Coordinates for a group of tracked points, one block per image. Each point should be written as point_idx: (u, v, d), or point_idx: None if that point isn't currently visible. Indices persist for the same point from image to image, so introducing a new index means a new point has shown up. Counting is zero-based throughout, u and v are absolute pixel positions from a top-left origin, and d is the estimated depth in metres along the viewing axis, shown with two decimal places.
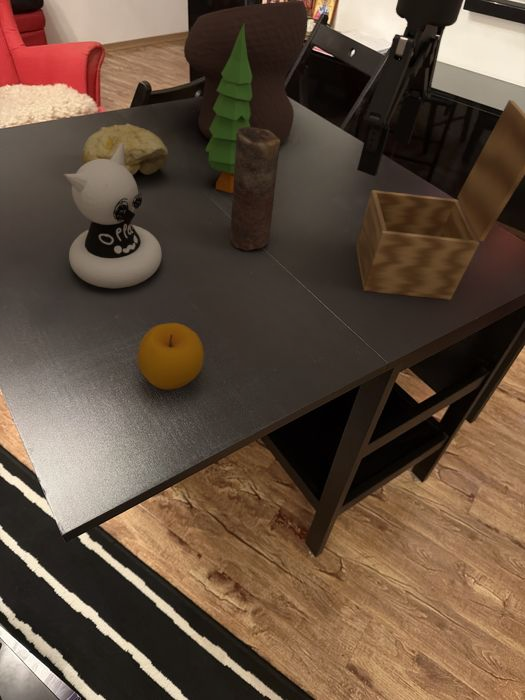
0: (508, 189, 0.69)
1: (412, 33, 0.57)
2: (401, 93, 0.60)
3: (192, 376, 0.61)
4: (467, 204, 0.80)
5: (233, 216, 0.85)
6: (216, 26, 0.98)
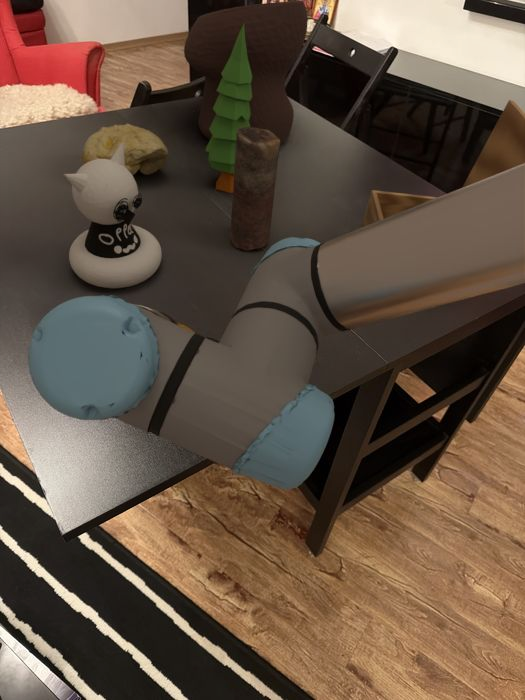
0: None
1: None
2: None
3: None
4: None
5: (233, 216, 0.85)
6: (216, 26, 0.98)
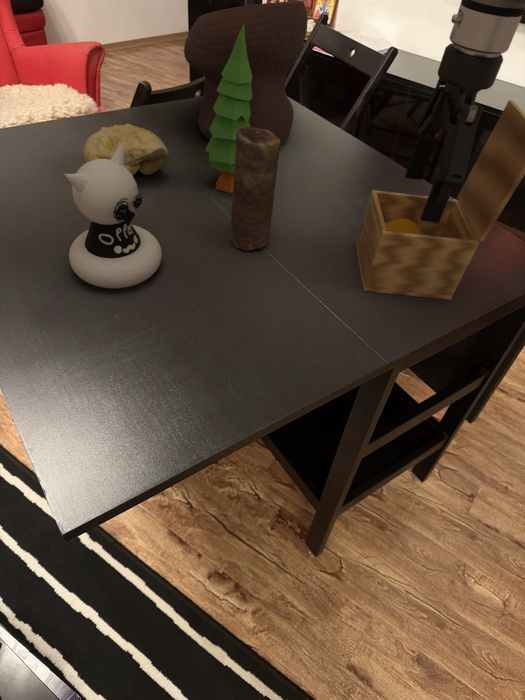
0: (508, 189, 0.69)
1: (468, 98, 0.63)
2: None
3: None
4: (467, 204, 0.80)
5: (233, 216, 0.85)
6: (216, 26, 0.98)
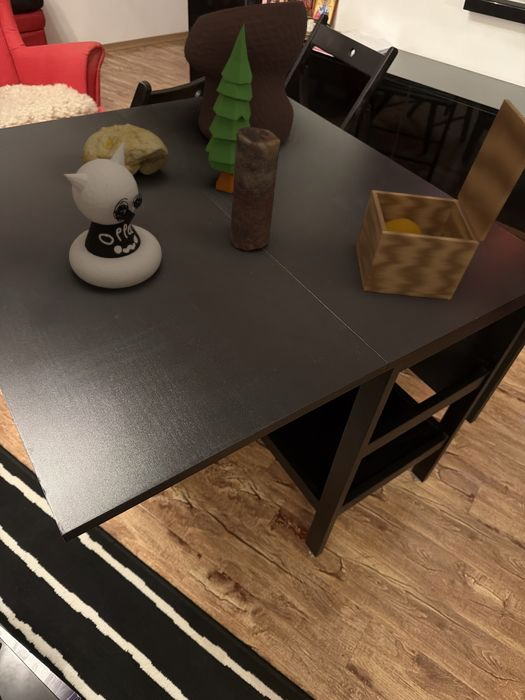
0: (506, 188, 0.69)
1: None
2: None
3: None
4: (467, 204, 0.80)
5: (233, 216, 0.85)
6: (216, 26, 0.98)
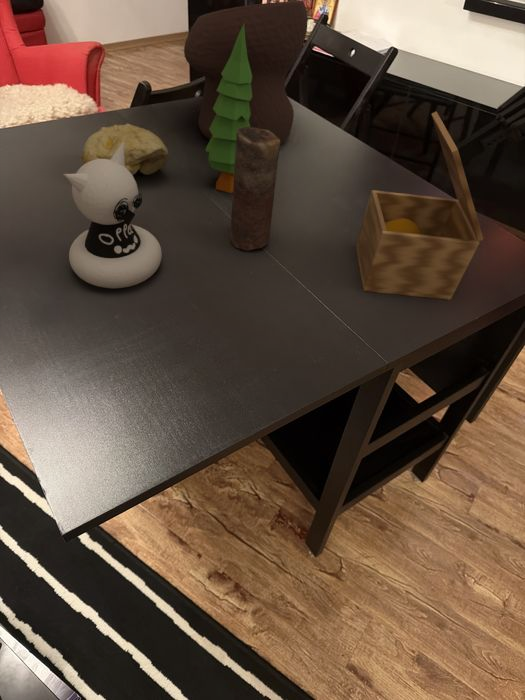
0: (464, 196, 0.70)
1: None
2: None
3: None
4: (462, 206, 0.81)
5: (233, 216, 0.85)
6: (216, 26, 0.98)
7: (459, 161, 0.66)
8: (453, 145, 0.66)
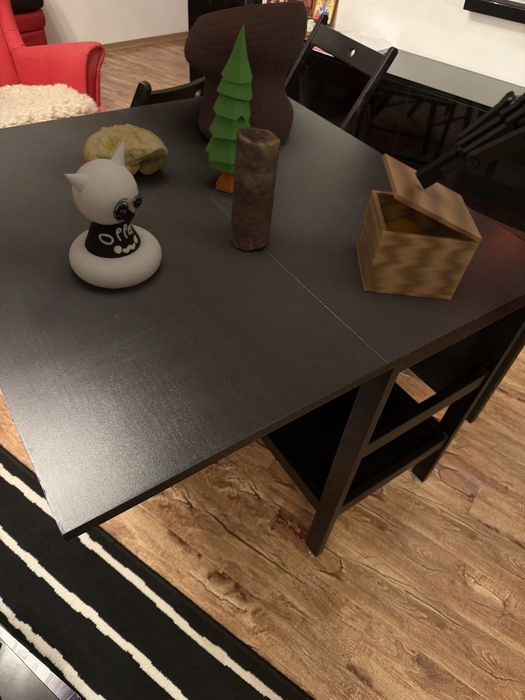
0: (435, 219, 0.73)
1: None
2: None
3: None
4: None
5: (233, 216, 0.85)
6: (216, 26, 0.98)
7: (407, 200, 0.71)
8: (395, 191, 0.71)
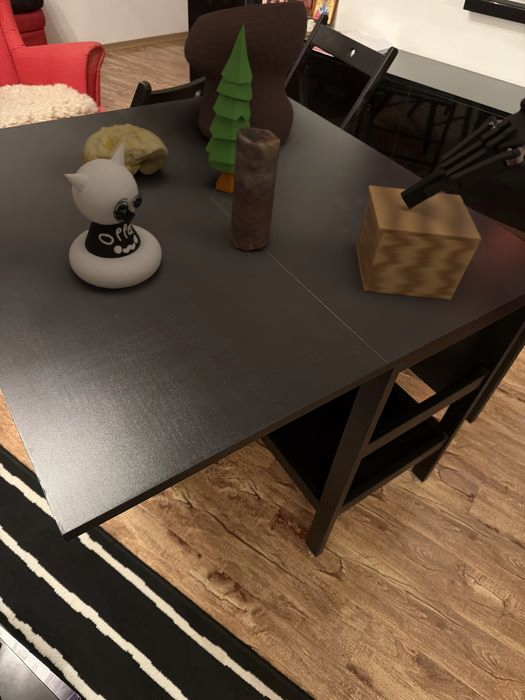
0: (425, 236, 0.75)
1: None
2: None
3: None
4: None
5: (233, 216, 0.85)
6: (216, 26, 0.98)
7: (389, 230, 0.74)
8: (377, 224, 0.75)
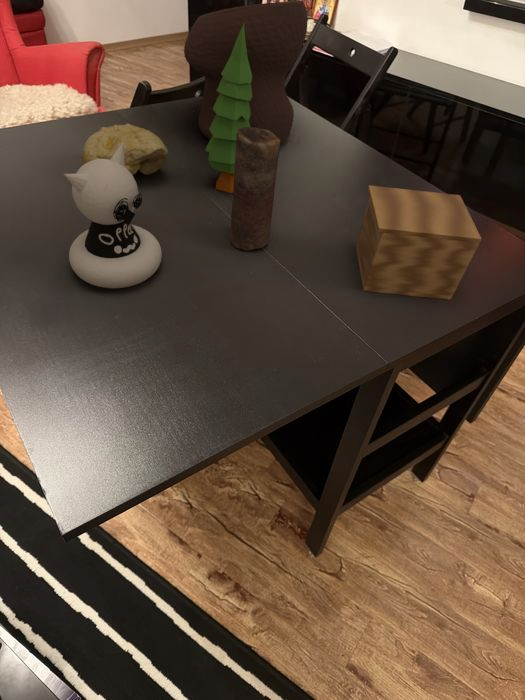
0: (425, 236, 0.75)
1: None
2: None
3: None
4: None
5: (233, 216, 0.85)
6: (216, 26, 0.98)
7: (389, 230, 0.74)
8: (377, 224, 0.75)
